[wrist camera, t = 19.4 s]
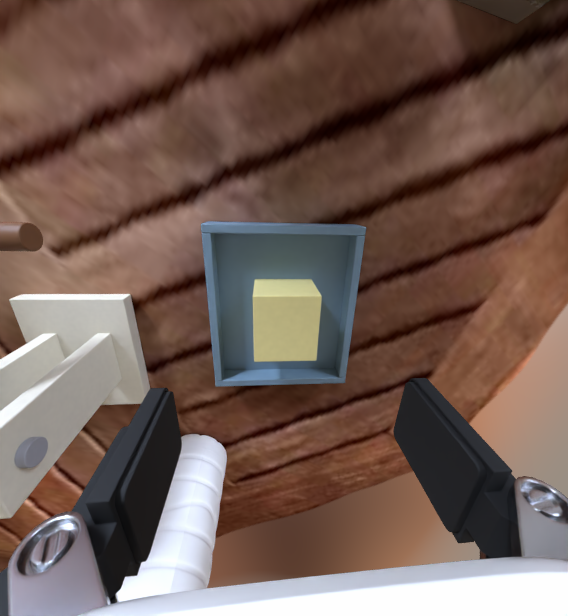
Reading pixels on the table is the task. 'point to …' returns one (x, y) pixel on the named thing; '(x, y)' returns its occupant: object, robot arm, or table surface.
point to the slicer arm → (19, 237)
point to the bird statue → (508, 8)
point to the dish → (280, 265)
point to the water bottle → (184, 524)
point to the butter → (285, 320)
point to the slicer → (62, 380)
